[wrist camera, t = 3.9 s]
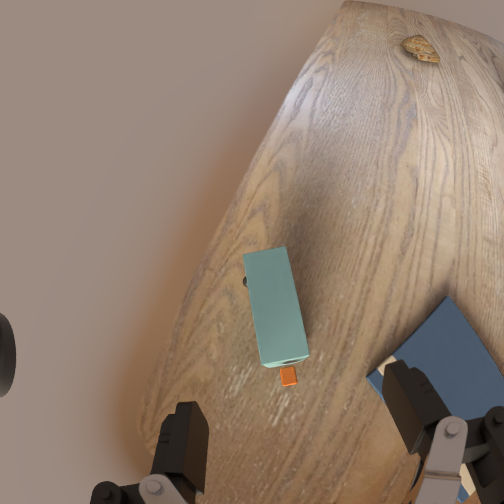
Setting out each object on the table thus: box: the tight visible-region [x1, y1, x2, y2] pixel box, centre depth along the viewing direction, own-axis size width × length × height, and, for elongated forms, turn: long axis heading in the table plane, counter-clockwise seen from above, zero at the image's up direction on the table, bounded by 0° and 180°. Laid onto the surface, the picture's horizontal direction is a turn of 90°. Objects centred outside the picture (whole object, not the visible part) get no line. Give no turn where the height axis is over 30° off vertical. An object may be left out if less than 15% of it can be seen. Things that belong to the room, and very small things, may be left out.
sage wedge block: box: [243, 246, 310, 386], centre depth 17 cm, size 7×3×8 cm, turn 10°
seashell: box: [401, 35, 440, 63], centre depth 36 cm, size 8×6×8 cm
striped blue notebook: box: [366, 295, 504, 503], centre depth 16 cm, size 18×10×1 cm, turn 35°
